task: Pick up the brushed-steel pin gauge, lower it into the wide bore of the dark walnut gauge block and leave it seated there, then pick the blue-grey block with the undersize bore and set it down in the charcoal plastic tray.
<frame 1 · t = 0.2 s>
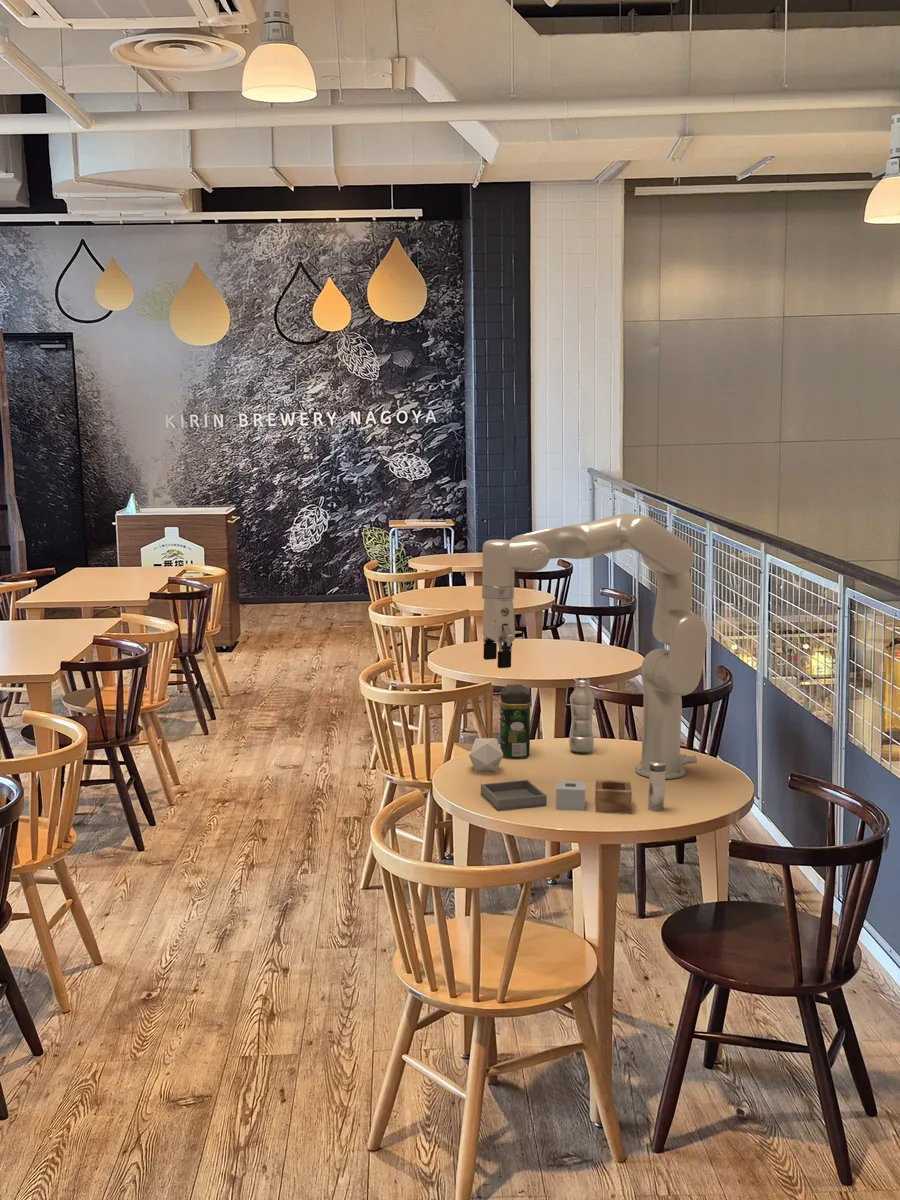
hand: (497, 663, 276), 31 cm above the table, fingers open, 9 cm apart
plastic bottle: (581, 752, 311), on the table
small block: (570, 805, 269), on the table
pin gauge: (655, 808, 267), on the table
coffee jar: (514, 755, 309), on the table
tray: (513, 800, 272), on the table
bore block: (612, 806, 268), on the table
die: (485, 771, 295), on the table
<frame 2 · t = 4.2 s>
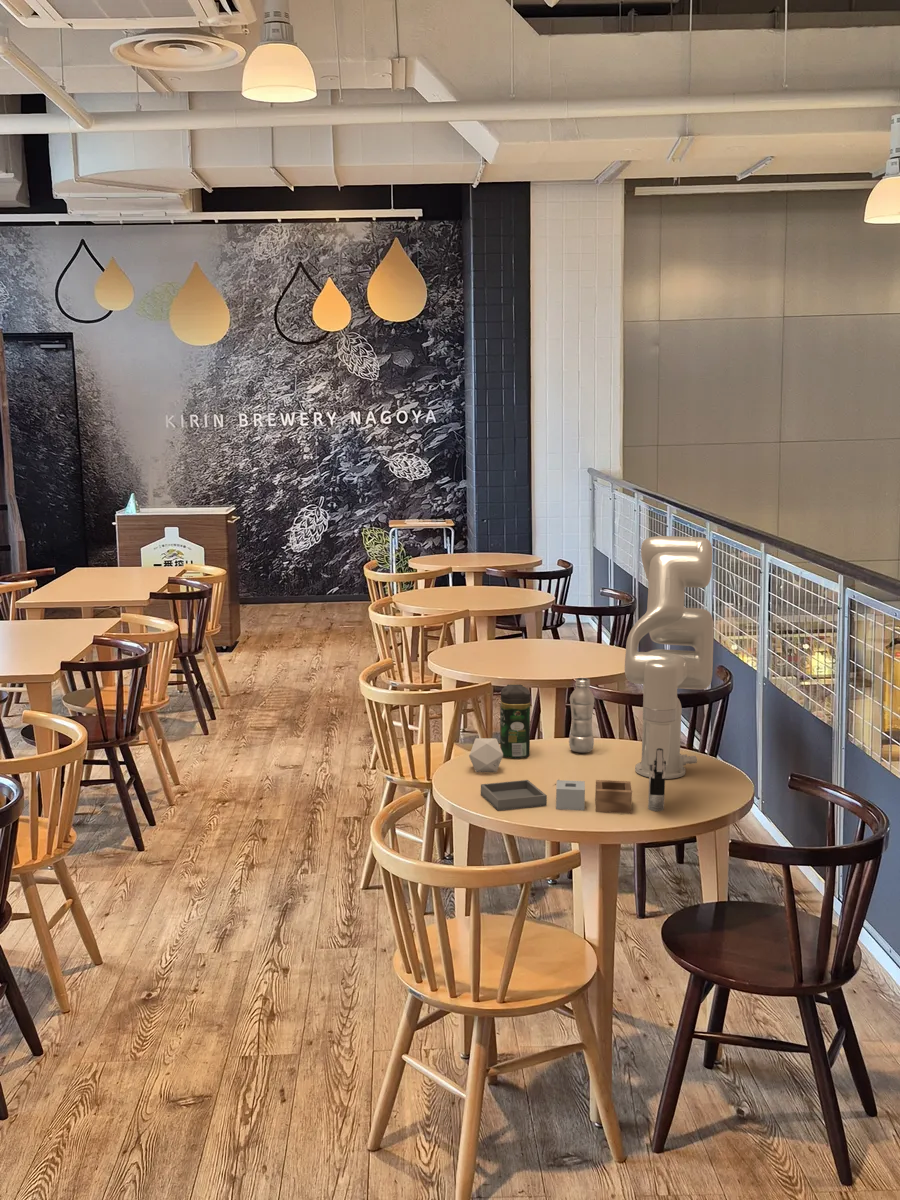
hand: (656, 790, 266), 4 cm above the table, fingers closed on pin gauge, 3 cm apart
pin gauge: (655, 808, 267), on the table, touching gripper
everything else where it was.
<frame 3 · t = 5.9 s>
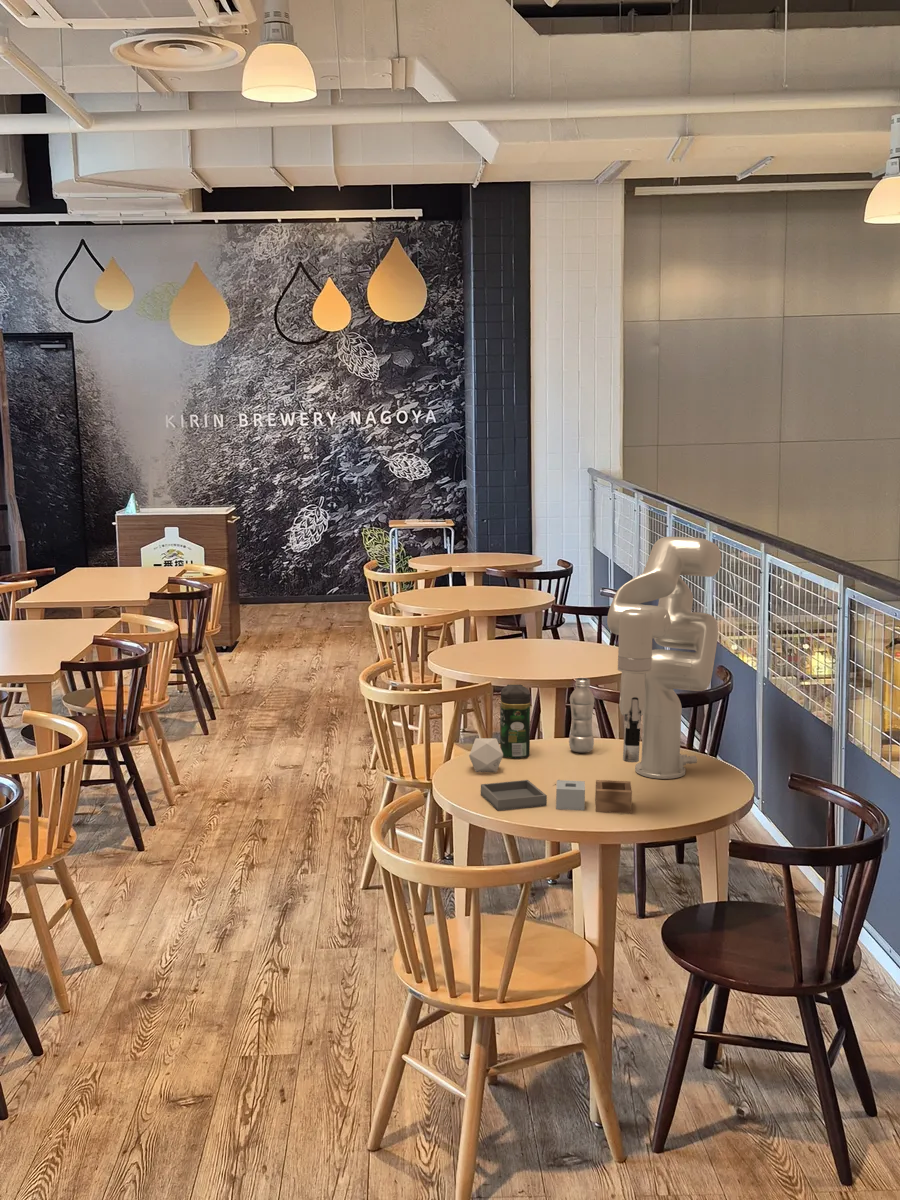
hand: (631, 742, 265), 16 cm above the table, fingers closed on pin gauge, 3 cm apart
pin gauge: (630, 760, 265), point 12 cm above the table, touching gripper
everything else where it was.
when the fingers open (6 cm above the table, at t = 7.9 s): pin gauge drops 1 cm, resting in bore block.
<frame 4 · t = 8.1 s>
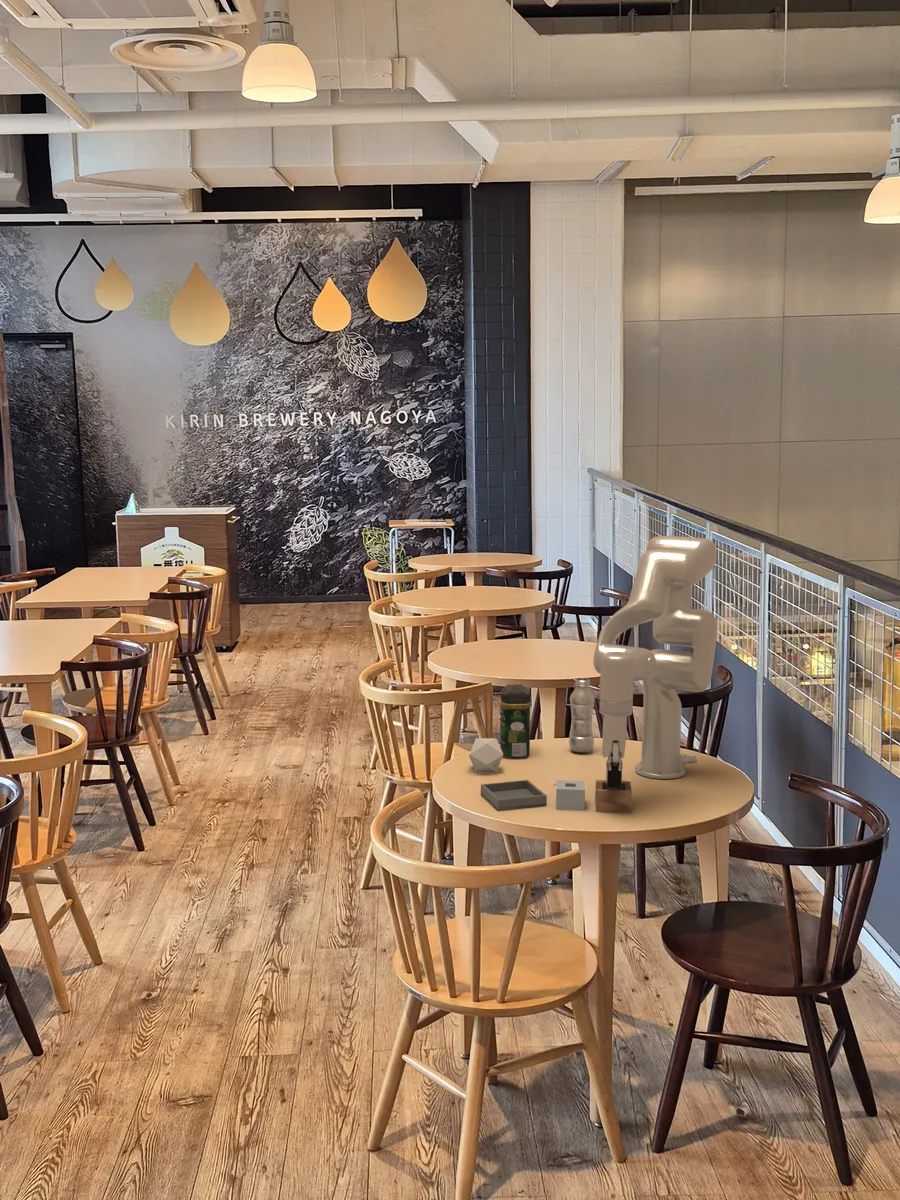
hand: (613, 781, 267), 6 cm above the table, fingers open, 5 cm apart
pin gauge: (613, 806, 268), resting in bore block
everything else where it was.
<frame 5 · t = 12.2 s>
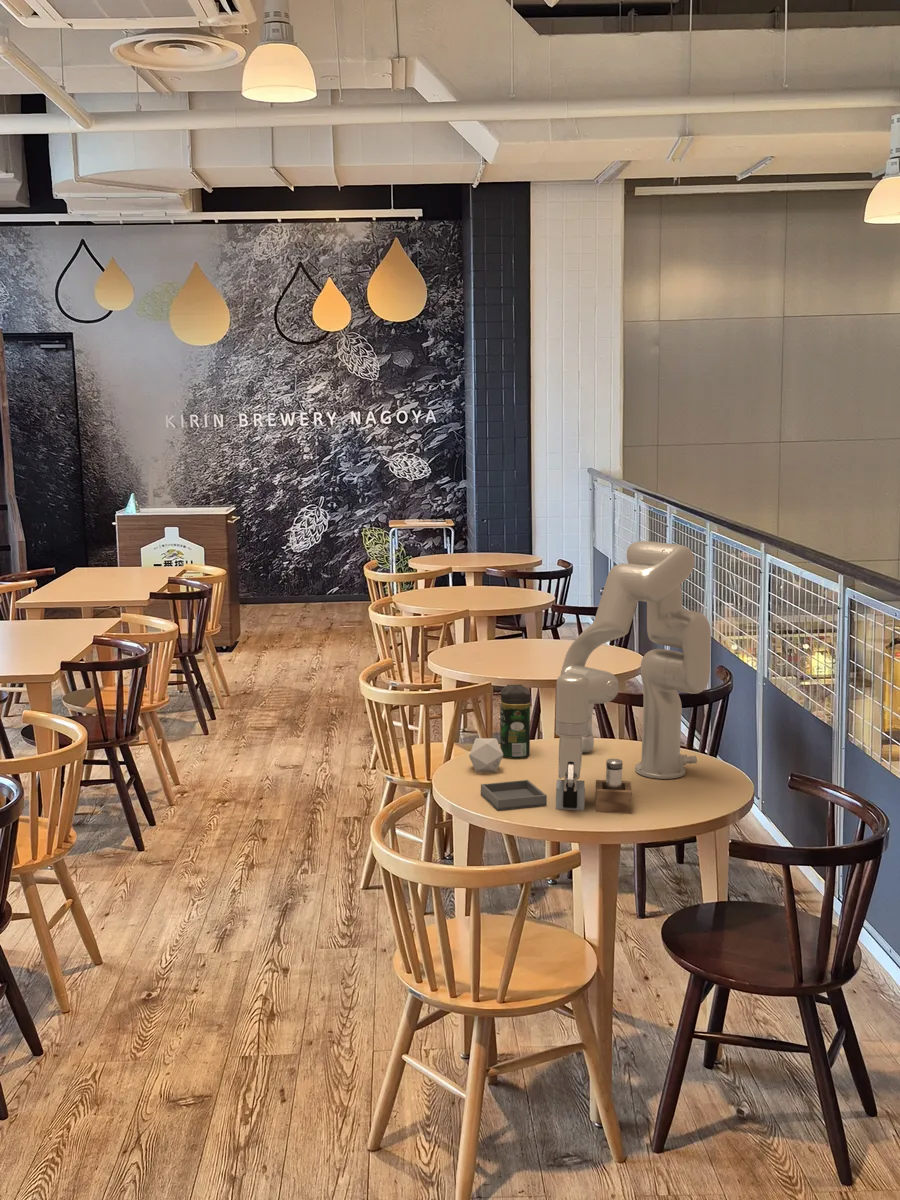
hand: (569, 801, 269), 1 cm above the table, fingers closed on small block, 6 cm apart
small block: (569, 805, 269), on the table, touching gripper
everything else where it was.
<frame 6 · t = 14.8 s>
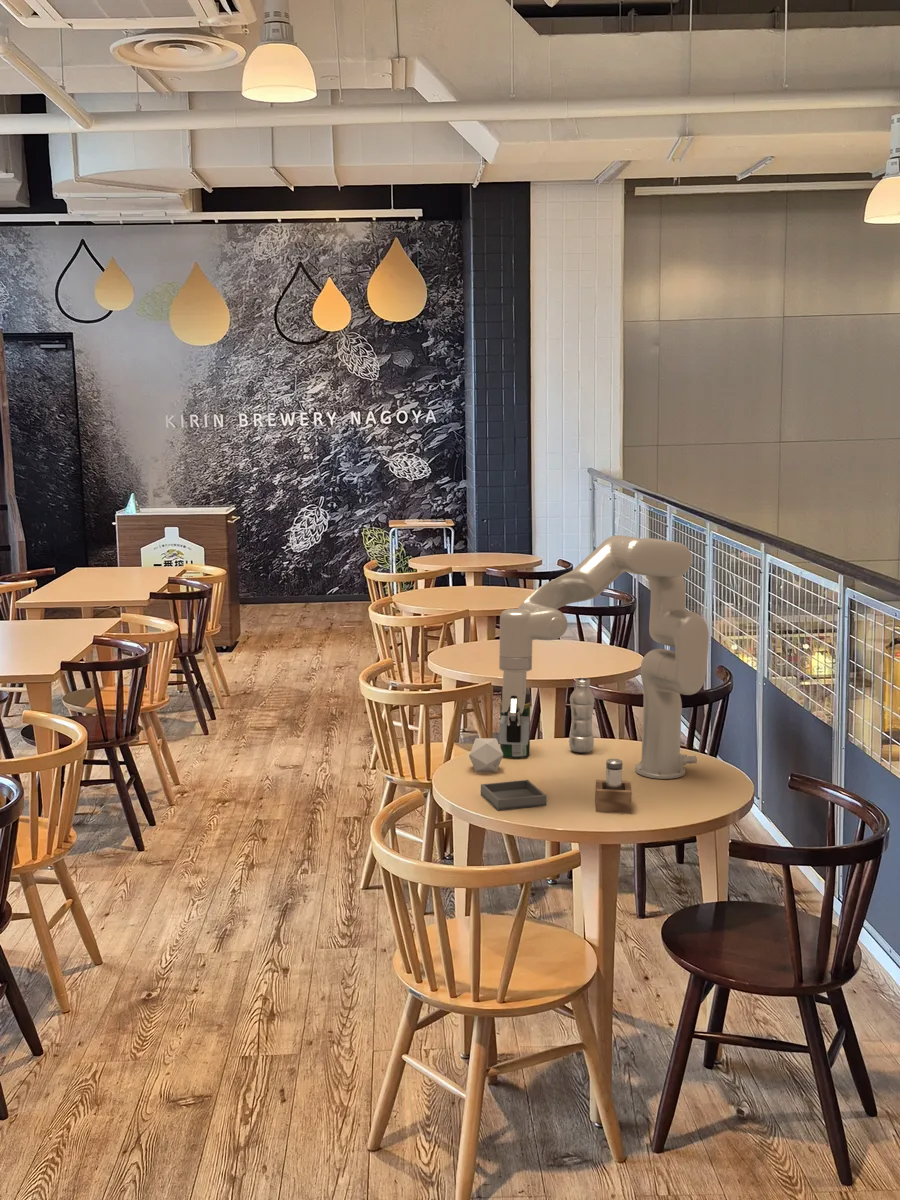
hand: (514, 737, 270), 15 cm above the table, fingers closed on small block, 6 cm apart
small block: (514, 740, 270), point 14 cm above the table, touching gripper
everything else where it was.
when the fingers open (3 cm above the table, at t = 17.5 s): small block drops 1 cm, resting on tray.
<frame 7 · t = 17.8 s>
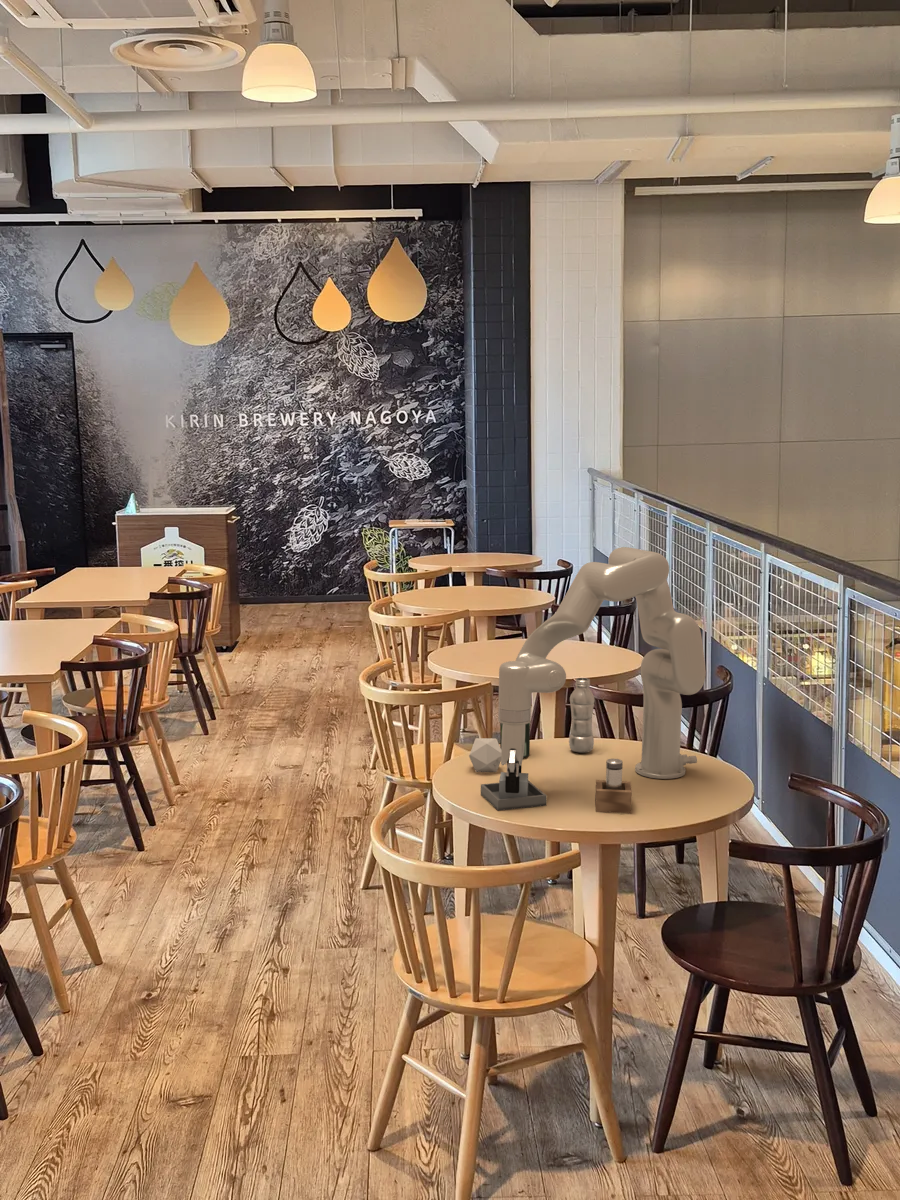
hand: (513, 785, 272), 3 cm above the table, fingers open, 9 cm apart
small block: (513, 797, 272), point 1 cm above the table, touching tray
everything else where it was.
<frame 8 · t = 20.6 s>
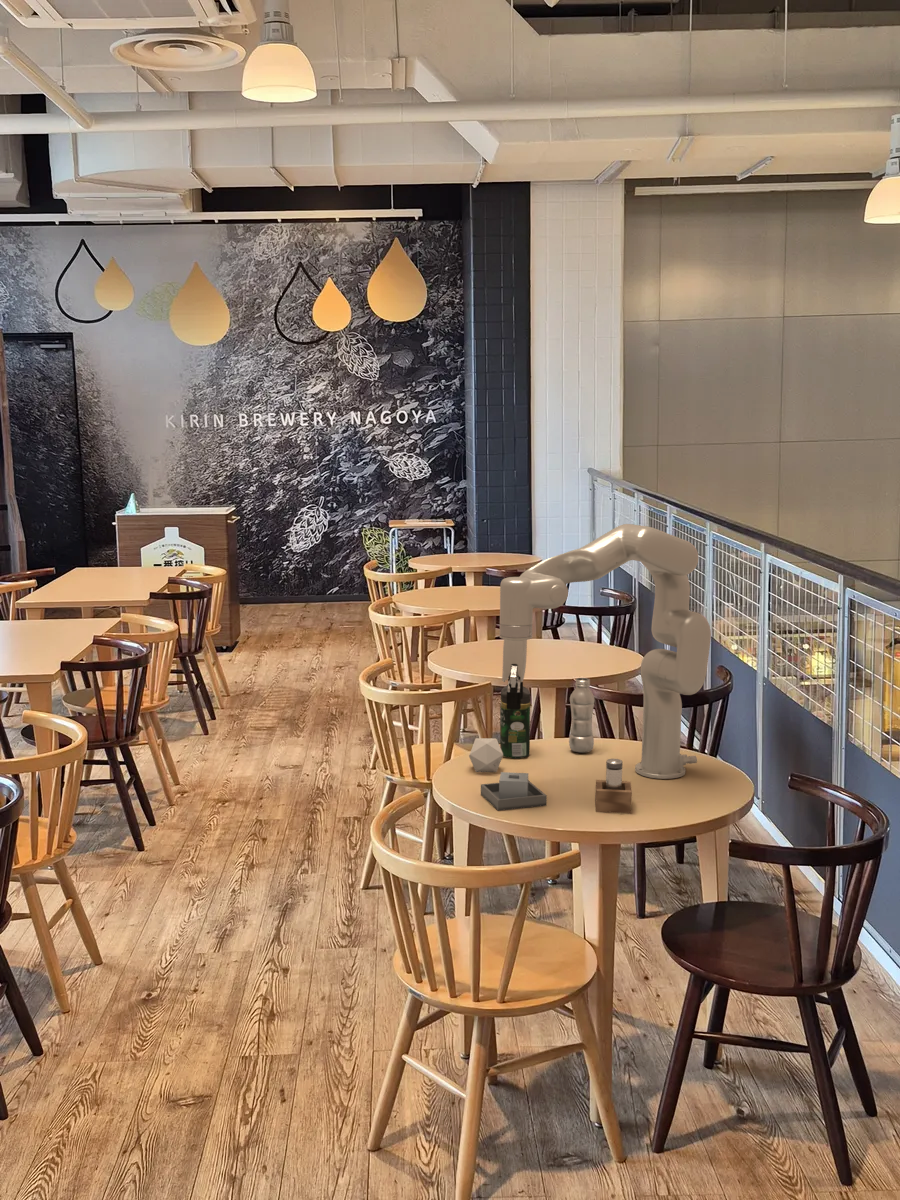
hand: (514, 703, 269), 23 cm above the table, fingers open, 9 cm apart
nothing on the table moved.
at the end: small block inside the target area on the tray (0.1 cm from its centre), point 0.6 cm above the tray's base; pin gauge 0.1 cm off-centre on the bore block, point 0.0 cm above the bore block's base; small block tilted 0° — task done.
